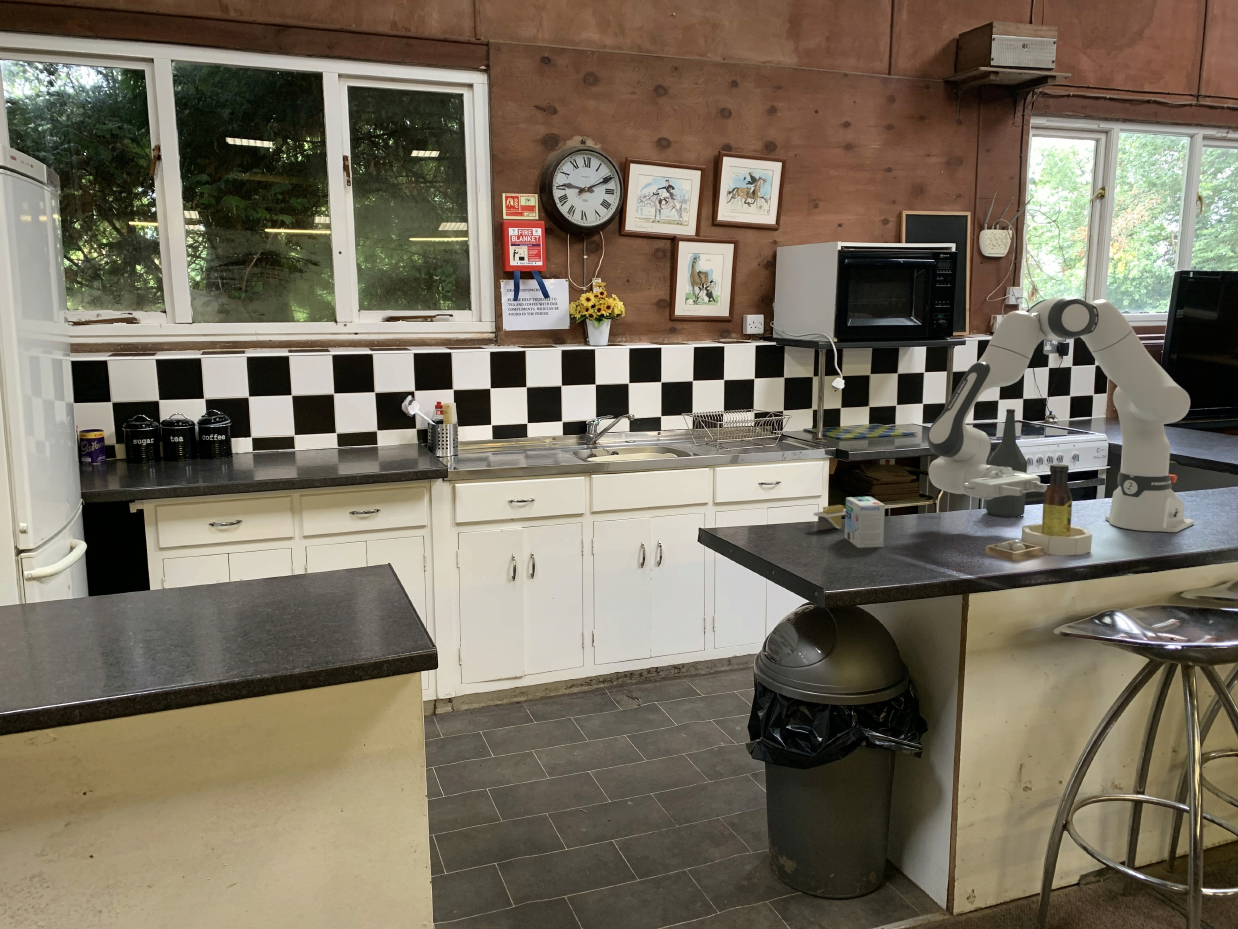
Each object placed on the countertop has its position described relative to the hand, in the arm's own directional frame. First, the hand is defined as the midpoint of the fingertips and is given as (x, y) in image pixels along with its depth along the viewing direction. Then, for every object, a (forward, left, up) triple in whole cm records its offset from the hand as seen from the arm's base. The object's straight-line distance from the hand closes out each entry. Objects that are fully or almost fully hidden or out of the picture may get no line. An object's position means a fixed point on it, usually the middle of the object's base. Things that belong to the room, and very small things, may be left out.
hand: (1033, 490), depth 228 cm
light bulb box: (+32, -24, -14) cm, 42 cm away
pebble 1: (+16, +5, -13) cm, 21 cm away
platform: (+28, -39, -14) cm, 51 cm away
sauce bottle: (0, +7, -13) cm, 15 cm away
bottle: (-25, -26, -14) cm, 39 cm away
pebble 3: (+14, +7, -13) cm, 20 cm away
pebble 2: (+12, +5, -13) cm, 18 cm away
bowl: (0, +7, -14) cm, 15 cm away
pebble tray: (+14, +6, -14) cm, 20 cm away
